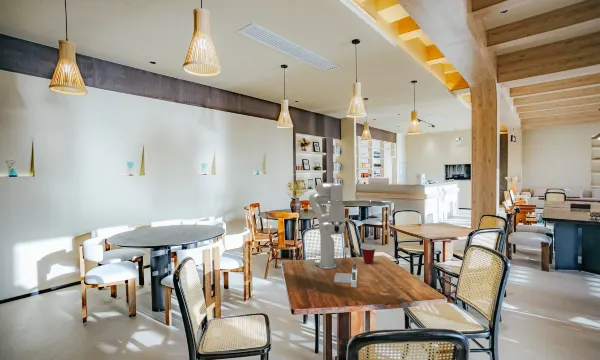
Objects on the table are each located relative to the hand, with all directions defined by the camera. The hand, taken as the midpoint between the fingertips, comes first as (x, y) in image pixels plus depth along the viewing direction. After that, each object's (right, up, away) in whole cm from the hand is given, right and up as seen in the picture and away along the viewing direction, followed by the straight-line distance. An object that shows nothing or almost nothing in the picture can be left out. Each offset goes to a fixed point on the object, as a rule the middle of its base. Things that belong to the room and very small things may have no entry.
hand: (336, 232), depth 202 cm
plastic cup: (+26, -27, +28) cm, 47 cm away
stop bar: (+9, -27, -10) cm, 30 cm away
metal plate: (+3, -28, -9) cm, 29 cm away
